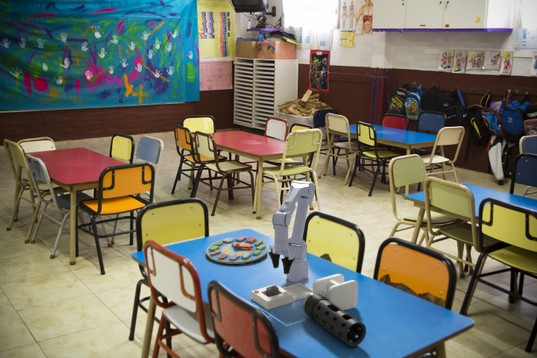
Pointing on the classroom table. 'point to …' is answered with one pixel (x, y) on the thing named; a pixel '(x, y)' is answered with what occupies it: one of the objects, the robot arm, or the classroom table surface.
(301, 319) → the classroom table surface
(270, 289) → the plug
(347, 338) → the muzzle brake
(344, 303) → the cable organizer
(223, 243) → the shape sorting clock
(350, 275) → the classroom table surface
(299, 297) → the tray
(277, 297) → the socket block
